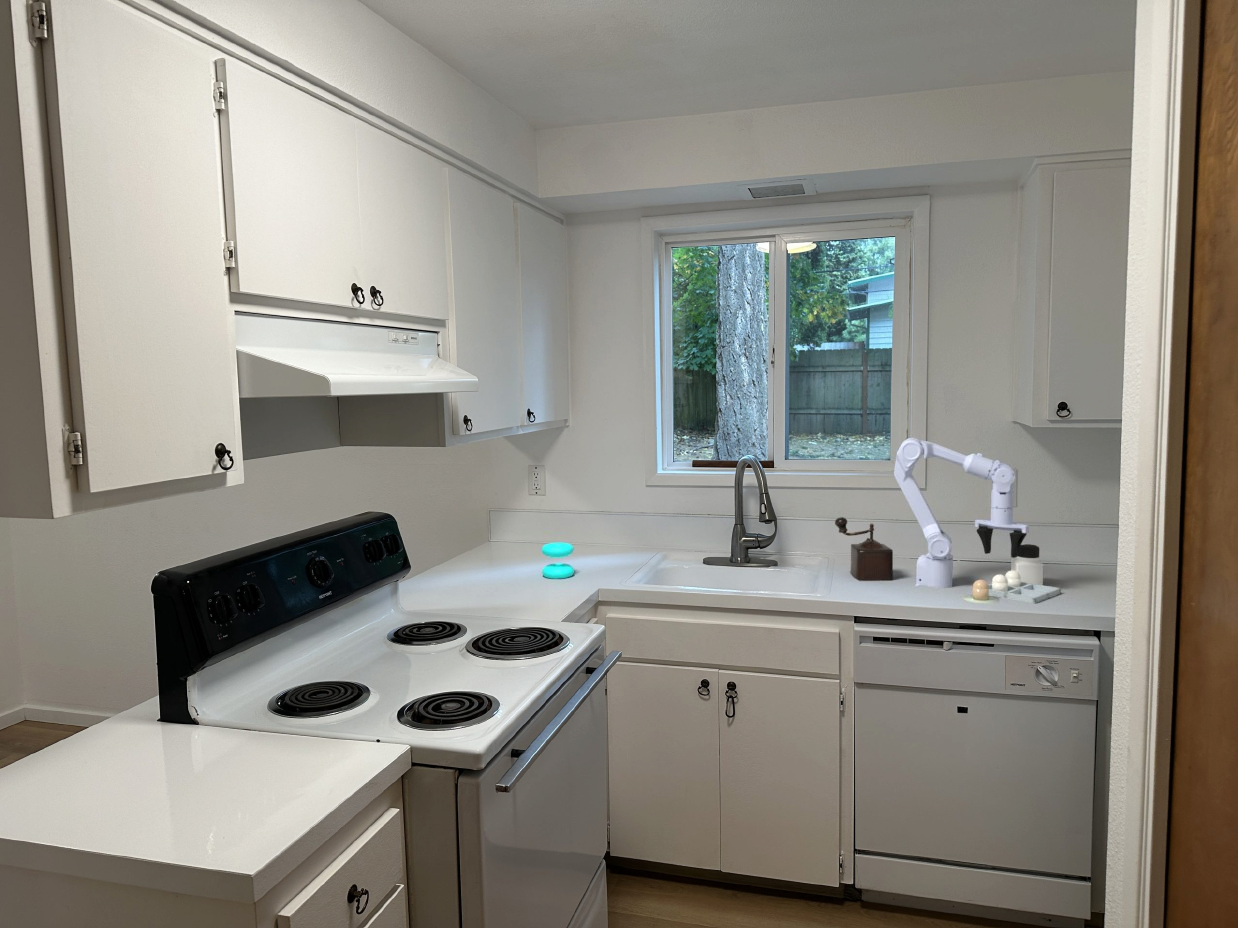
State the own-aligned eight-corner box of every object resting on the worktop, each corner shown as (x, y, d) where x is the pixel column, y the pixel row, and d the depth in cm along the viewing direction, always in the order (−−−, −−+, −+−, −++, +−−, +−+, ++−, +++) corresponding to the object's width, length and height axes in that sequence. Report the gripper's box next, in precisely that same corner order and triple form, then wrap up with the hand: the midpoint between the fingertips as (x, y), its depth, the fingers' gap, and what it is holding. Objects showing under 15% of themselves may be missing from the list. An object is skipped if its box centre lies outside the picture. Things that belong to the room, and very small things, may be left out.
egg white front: (989, 592, 240) (989, 574, 240) (996, 590, 243) (996, 572, 242) (1003, 595, 237) (1003, 576, 236) (1010, 592, 240) (1010, 574, 239)
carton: (978, 595, 240) (978, 587, 240) (1005, 586, 250) (1005, 578, 250) (1034, 606, 229) (1034, 598, 228) (1060, 596, 238) (1060, 588, 238)
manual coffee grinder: (882, 572, 271) (883, 515, 269) (893, 580, 260) (894, 521, 258) (832, 573, 271) (833, 516, 269) (841, 581, 260) (842, 522, 258)
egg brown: (969, 598, 234) (970, 579, 234) (977, 596, 237) (977, 577, 236) (983, 601, 231) (984, 582, 231) (991, 598, 234) (991, 580, 233)
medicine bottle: (1043, 589, 247) (1044, 547, 245) (1016, 588, 248) (1017, 547, 247) (1036, 583, 253) (1037, 542, 252) (1010, 582, 255) (1011, 542, 254)
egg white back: (1002, 588, 245) (1002, 570, 244) (1008, 586, 247) (1009, 568, 247) (1016, 590, 242) (1016, 572, 241) (1022, 588, 244) (1023, 570, 244)
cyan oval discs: (556, 540, 279) (580, 543, 273) (557, 571, 280) (580, 575, 274) (535, 545, 272) (558, 548, 265) (535, 576, 272) (559, 581, 266)
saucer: (956, 601, 234) (956, 598, 234) (973, 595, 240) (973, 593, 240) (988, 607, 228) (988, 604, 227) (1005, 601, 233) (1005, 599, 233)
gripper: (1034, 508, 239) (1033, 556, 241) (984, 503, 250) (983, 549, 252) (1022, 511, 235) (1021, 560, 236) (971, 505, 246) (970, 552, 247)
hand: (1000, 555), depth 244 cm, fingers open, 7 cm apart
